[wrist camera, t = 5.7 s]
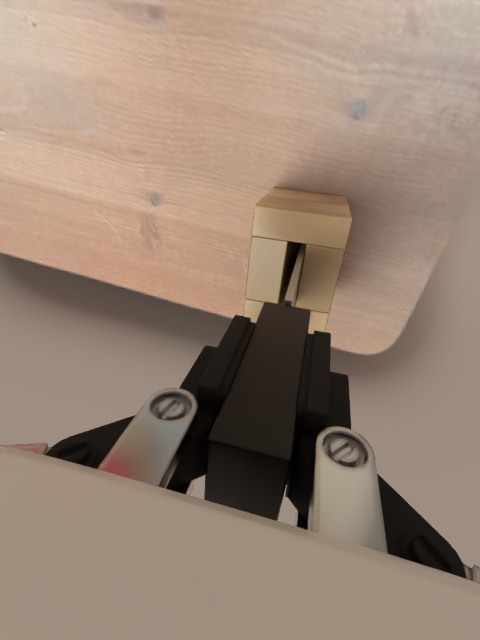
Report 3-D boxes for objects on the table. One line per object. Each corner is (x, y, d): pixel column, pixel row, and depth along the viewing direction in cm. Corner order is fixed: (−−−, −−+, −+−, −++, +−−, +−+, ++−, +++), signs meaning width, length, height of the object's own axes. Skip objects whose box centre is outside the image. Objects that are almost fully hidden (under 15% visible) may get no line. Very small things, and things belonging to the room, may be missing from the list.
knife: (320, 240, 20) (293, 453, 7) (310, 286, 22) (273, 537, 8) (290, 236, 21) (207, 431, 7) (283, 281, 22) (202, 516, 9)
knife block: (346, 196, 23) (352, 218, 17) (325, 291, 26) (323, 337, 20) (273, 187, 24) (254, 205, 18) (261, 280, 27) (242, 321, 21)
